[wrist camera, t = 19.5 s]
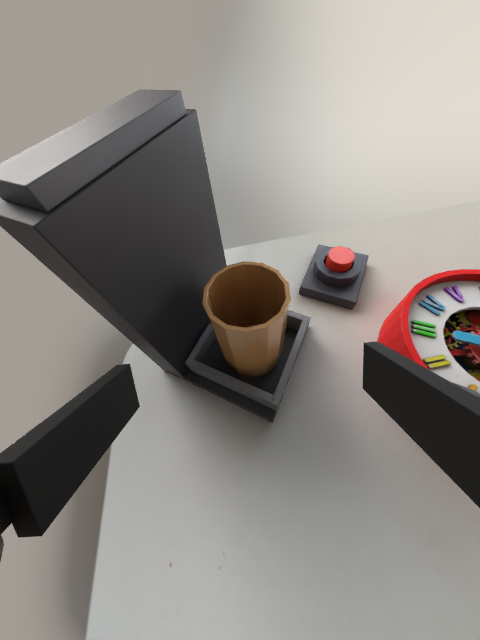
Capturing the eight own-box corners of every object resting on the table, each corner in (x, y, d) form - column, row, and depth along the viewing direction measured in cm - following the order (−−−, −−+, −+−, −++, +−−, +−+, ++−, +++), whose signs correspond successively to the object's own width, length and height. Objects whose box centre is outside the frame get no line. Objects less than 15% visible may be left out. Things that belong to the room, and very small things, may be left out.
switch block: (352, 309, 33) (360, 294, 30) (298, 293, 35) (301, 278, 32) (364, 263, 37) (373, 246, 34) (316, 252, 39) (320, 235, 37)
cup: (213, 364, 29) (185, 313, 19) (239, 317, 33) (227, 253, 22) (267, 388, 27) (269, 345, 17) (289, 335, 30) (302, 273, 20)
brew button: (347, 275, 32) (352, 266, 31) (322, 269, 33) (325, 260, 32) (353, 258, 34) (357, 249, 32) (328, 253, 35) (331, 243, 33)
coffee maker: (272, 422, 26) (305, 283, 5) (162, 368, 31) (-47, 185, 10) (308, 325, 32) (387, 88, 11) (211, 293, 37) (145, 84, 16)
